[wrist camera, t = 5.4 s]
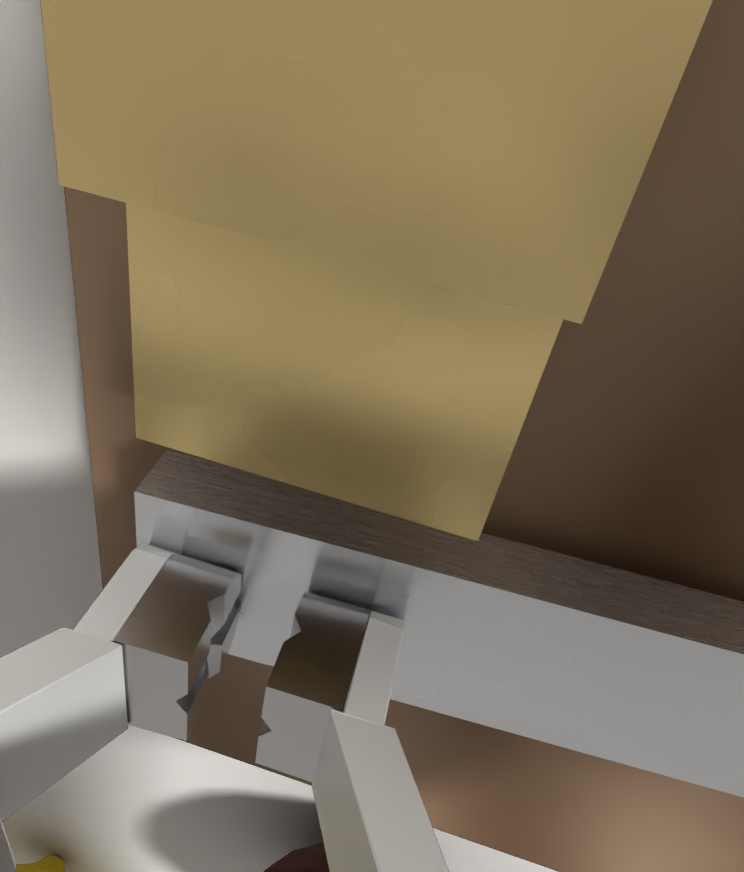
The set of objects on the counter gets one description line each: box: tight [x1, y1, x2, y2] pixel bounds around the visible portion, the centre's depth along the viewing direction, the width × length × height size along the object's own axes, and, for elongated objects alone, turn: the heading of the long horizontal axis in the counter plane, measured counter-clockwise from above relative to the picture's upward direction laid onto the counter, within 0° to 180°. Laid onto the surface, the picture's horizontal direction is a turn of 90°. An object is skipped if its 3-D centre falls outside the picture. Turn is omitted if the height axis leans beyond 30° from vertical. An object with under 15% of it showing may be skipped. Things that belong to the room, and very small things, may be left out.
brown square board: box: [64, 0, 744, 872], centre depth 11 cm, size 20×18×2 cm
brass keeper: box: [40, 0, 713, 541], centre depth 6 cm, size 4×6×3 cm, turn 170°
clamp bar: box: [134, 450, 744, 798], centre depth 10 cm, size 16×3×1 cm, turn 79°
